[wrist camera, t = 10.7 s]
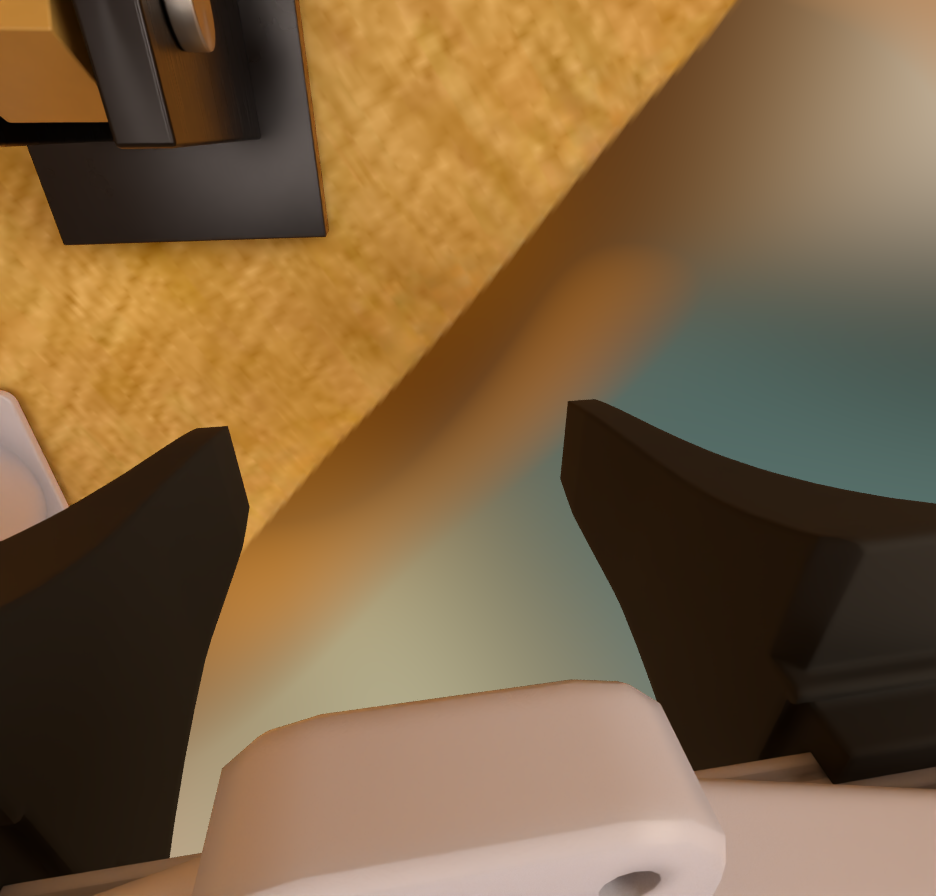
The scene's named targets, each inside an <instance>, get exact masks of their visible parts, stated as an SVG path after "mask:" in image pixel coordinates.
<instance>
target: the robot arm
mask: <svg viewBox="0 0 936 896" xmlns="http://www.w3.org/2000/svg"><path fill="white" fill-rule="evenodd" d="M560 478H561V482H562V485H563V488H564V491H565V494H566V497H567V500H568V502H569V505H570V508H571V510H572V513H573V515H574V517H575V519H576V521H577V523H578V525H579V527H580V529H581V531H582V533H583V535H584V536H585V538H586V540H587V542H588V544H589V546H590V548H591V550H592V552H593V553H594V555H595V557H596V559H597V561H598V563H599V565H600V566H601V568H602V570H603V572H604V574H605V576H606V578H607V580H608V581H609V583H610V585H611V587H612V589H613V591H614V593H615V595H616V597H617V599H618V601H619V603H620V605H621V608H622V610H623V612H624V615H625V617H626V620H627V622H628V625H629V627H630V630H631V633H632V635H633V637H634V640H635V643H636V645H637V648H638V650H639V653H640V656H641V659H642V661H643V664H644V667H645V669H646V672H647V675H648V678H649V680H650V683H651V686H652V688H653V691H654V694H655V697H656V700H657V701H655V700H654V699H652V698H650V697H649V696H647V695H645V694H644V693H642V692H641V691H639V690H637V689H636V688H634V687H632V686H631V685H629V684H626V683H622V682H618V681H597V680H564V681H557V682H550V683H543V684H536V685H528V686H521V687H514V688H508V689H500V690H493V691H485V692H478V693H471V694H464V695H457V696H449V697H443V698H435V699H428V700H421V701H413V702H406V703H399V704H392V705H385V706H378V707H371V708H363V709H356V710H349V711H342V712H334V713H327V714H321V715H317V716H314V717H311V718H308V719H305V720H301V721H298V722H295V723H292V724H288V725H285V726H282V727H278V728H275V729H272V730H269V731H267V732H265V733H264V734H262V735H260V736H259V737H257V738H256V739H255V740H254V741H253V742H252V743H251V744H249V745H248V746H247V747H246V748H245V749H244V750H243V751H241V752H240V753H239V754H238V755H237V756H236V757H235V758H234V759H232V760H231V761H230V762H229V763H228V764H227V765H226V766H225V767H223V768H222V772H221V776H220V780H219V784H218V788H217V793H216V797H215V801H214V805H213V809H212V813H211V818H210V822H209V826H208V830H207V834H206V839H205V843H204V847H203V851H202V853H199V854H192V855H187V856H180V857H174V858H169V857H170V850H171V843H172V835H173V829H174V822H175V816H176V810H177V804H178V798H179V791H180V786H181V779H182V773H183V768H184V761H185V756H186V751H187V746H188V740H189V735H190V730H191V725H192V720H193V714H194V709H195V704H196V700H197V695H198V691H199V686H200V681H201V677H202V672H203V667H204V663H205V659H206V656H207V652H208V648H209V645H210V642H211V638H212V635H213V633H214V630H215V627H216V624H217V621H218V618H219V615H220V612H221V609H222V607H223V604H224V601H225V598H226V595H227V592H228V589H229V586H230V583H231V581H232V578H233V575H234V572H235V569H236V565H237V562H238V560H239V557H240V553H241V550H242V547H243V542H244V537H245V532H246V526H247V520H248V513H249V503H248V499H247V496H246V492H245V488H244V485H243V481H242V477H241V473H240V470H239V466H238V462H237V459H236V455H235V451H234V447H233V444H232V440H231V436H230V433H229V429H228V426H223V427H209V428H196V429H194V430H192V431H190V432H188V433H186V434H185V435H183V436H181V437H180V438H178V439H176V440H175V441H173V442H172V443H170V444H169V445H167V446H166V447H164V448H163V449H161V450H159V451H158V452H156V453H155V454H153V455H152V456H150V457H149V458H147V459H146V460H144V461H143V462H141V463H140V464H138V465H137V466H135V467H134V468H132V469H131V470H129V471H128V472H126V473H125V474H123V475H121V476H120V477H118V478H117V479H115V480H113V481H112V482H110V483H108V484H107V485H105V486H103V487H102V488H100V489H98V490H97V491H95V492H93V493H92V494H90V495H88V496H87V497H85V498H83V499H82V500H80V501H79V502H77V503H75V504H73V505H72V506H70V507H69V505H68V503H67V501H66V499H65V497H64V495H63V493H62V491H61V489H60V487H59V485H58V483H57V481H56V479H55V477H54V475H53V473H52V470H51V468H50V466H49V464H48V462H47V460H46V458H45V456H44V454H43V452H42V450H41V448H40V446H39V444H38V442H37V440H36V437H35V435H34V433H33V431H32V429H31V427H30V425H29V423H28V421H27V419H26V417H25V415H24V413H23V411H22V409H21V407H20V405H19V402H18V401H17V399H16V398H15V397H14V396H13V395H12V394H10V393H9V392H6V391H4V390H0V896H936V504H934V503H926V502H919V501H911V500H903V499H895V498H888V497H882V496H877V495H871V494H866V493H859V492H854V491H849V490H844V489H839V488H834V487H830V486H825V485H820V484H815V483H812V482H808V481H803V480H800V479H796V478H792V477H788V476H784V475H780V474H776V473H773V472H769V471H766V470H763V469H759V468H756V467H753V466H750V465H747V464H744V463H741V462H739V461H736V460H732V459H729V458H727V457H724V456H721V455H719V454H715V453H713V452H710V451H708V450H706V449H703V448H701V447H699V446H696V445H694V444H692V443H689V442H687V441H684V440H682V439H680V438H678V437H676V436H673V435H671V434H669V433H667V432H665V431H663V430H660V429H658V428H656V427H654V426H652V425H650V424H648V423H646V422H644V421H642V420H640V419H638V418H636V417H634V416H632V415H630V414H628V413H626V412H624V411H622V410H620V409H618V408H615V407H613V406H611V405H609V404H606V403H604V402H601V401H598V400H595V399H593V400H578V401H568V407H567V418H566V427H565V437H564V447H563V457H562V467H561V477H560Z"/></svg>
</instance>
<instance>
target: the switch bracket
mask: <svg viewBox="0 0 936 896" xmlns="http://www.w3.org/2000/svg"><path fill="white" fill-rule="evenodd" d="M72 3H73V7H74V10H75V13H76V17H77V20H78V23H79V27H80V30H81V33H82V37H83V40H84V43H85V47H86V50H87V53H88V57H89V60H90V63H91V67H92V70H93V73H94V77H95V80H96V83H97V87H98V90H99V93H100V97H101V100H102V103H103V107H104V110H105V113H106V117H107V120H108V122H39V123H10V122H7V121H6V120H5V119H3V118H2V117H1V116H0V147H6V146H26V145H27V147H28V150H29V152H30V155H31V158H32V160H33V163H34V166H35V168H36V171H37V174H38V176H39V179H40V182H41V184H42V187H43V190H44V192H45V195H46V198H47V200H48V203H49V206H50V208H51V211H52V214H53V216H54V219H55V222H56V224H57V227H58V230H59V233H60V235H61V238H62V241H63V243H64V245H87V244H118V243H149V242H180V241H211V240H242V239H273V238H304V237H326V235H327V233H328V231H329V227H328V220H327V212H326V204H325V197H324V189H323V182H322V174H321V166H320V159H319V151H318V143H317V136H316V128H315V121H314V113H313V105H312V98H311V90H310V83H309V75H308V67H307V60H306V52H305V44H304V37H303V29H302V22H301V14H300V6H299V0H72Z"/></svg>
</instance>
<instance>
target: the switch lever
mask: <svg viewBox="0 0 936 896" xmlns="http://www.w3.org/2000/svg"><path fill="white" fill-rule="evenodd" d="M0 116H1V117H2V118H3V119H5V120H6V121H7V122H10V123H39V122H108V120H107V117H106V113H105V110H104V107H103V103H102V100H101V97H100V93H99V90H98V87H97V83H96V80H95V77H94V73H93V70H92V67H91V63H90V60H89V57H88V53H87V50H86V47H85V43H84V40H83V37H82V33H81V30H80V27H79V23H78V20H77V17H76V13H75V10H74V7H73V3H72V0H0Z"/></svg>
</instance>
